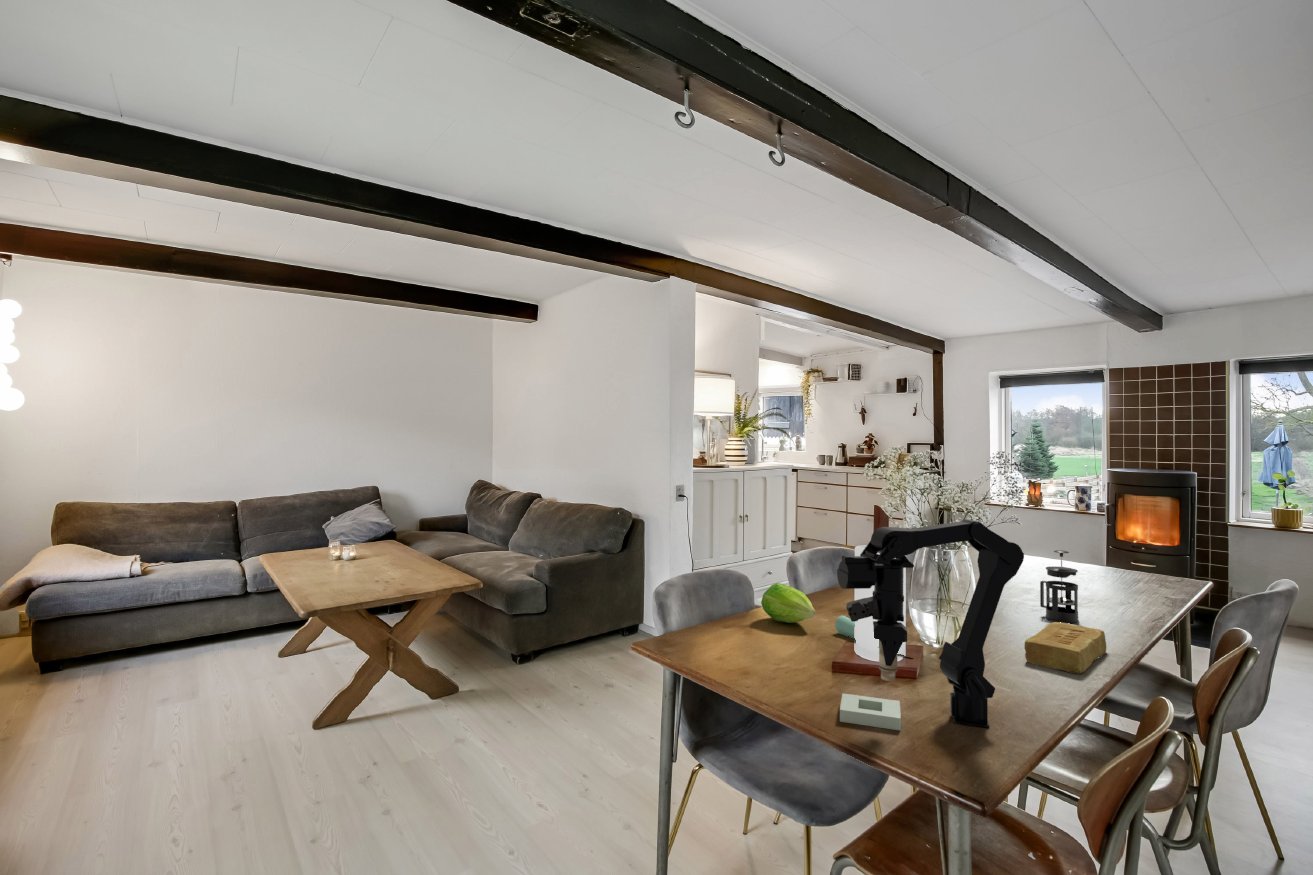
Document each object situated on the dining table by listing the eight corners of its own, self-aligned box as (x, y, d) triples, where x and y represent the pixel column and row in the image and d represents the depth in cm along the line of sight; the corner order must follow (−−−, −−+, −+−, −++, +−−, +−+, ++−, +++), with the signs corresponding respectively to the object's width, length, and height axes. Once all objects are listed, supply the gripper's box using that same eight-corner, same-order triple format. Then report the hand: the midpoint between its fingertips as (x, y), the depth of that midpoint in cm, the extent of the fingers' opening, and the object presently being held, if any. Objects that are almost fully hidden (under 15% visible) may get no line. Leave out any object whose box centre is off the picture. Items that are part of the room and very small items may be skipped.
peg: (897, 676, 130) (897, 634, 130) (898, 683, 126) (898, 639, 127) (878, 674, 131) (878, 632, 131) (878, 680, 128) (879, 637, 128)
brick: (1024, 667, 164) (1021, 640, 165) (1053, 644, 182) (1051, 620, 183) (1083, 677, 155) (1080, 649, 155) (1108, 652, 172) (1105, 627, 173)
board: (899, 712, 134) (899, 700, 134) (900, 730, 125) (900, 718, 125) (842, 704, 138) (842, 693, 138) (839, 721, 130) (839, 709, 130)
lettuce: (795, 635, 188) (795, 596, 188) (753, 619, 205) (753, 583, 205) (828, 628, 195) (828, 590, 195) (785, 613, 212) (785, 578, 212)
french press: (1086, 621, 202) (1086, 551, 202) (1072, 625, 197) (1071, 554, 197) (1048, 613, 212) (1048, 546, 212) (1034, 617, 207) (1033, 549, 207)
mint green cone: (906, 641, 166) (834, 616, 190) (906, 661, 166) (835, 634, 190) (919, 638, 169) (847, 614, 192) (920, 658, 169) (847, 631, 192)
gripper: (849, 576, 140) (848, 644, 140) (847, 594, 123) (847, 672, 123) (901, 580, 137) (901, 650, 137) (907, 599, 119) (907, 680, 119)
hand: (888, 662), depth 129 cm, fingers closed on peg, 4 cm apart
